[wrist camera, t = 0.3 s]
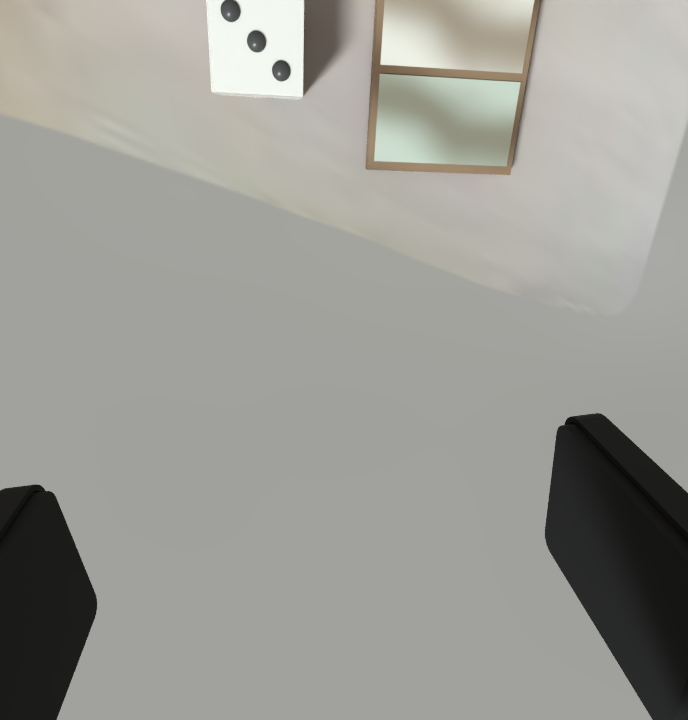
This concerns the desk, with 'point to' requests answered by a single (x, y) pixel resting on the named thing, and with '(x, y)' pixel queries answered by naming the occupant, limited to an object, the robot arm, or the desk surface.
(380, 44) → the board
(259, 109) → the desk surface
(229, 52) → the die
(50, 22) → the desk surface
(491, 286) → the desk surface
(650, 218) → the desk surface
